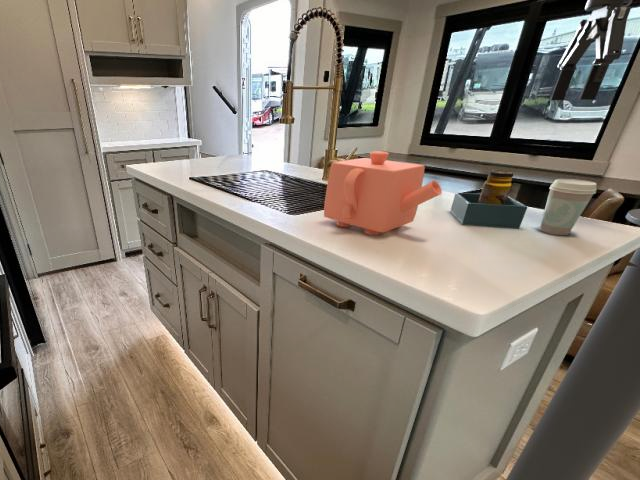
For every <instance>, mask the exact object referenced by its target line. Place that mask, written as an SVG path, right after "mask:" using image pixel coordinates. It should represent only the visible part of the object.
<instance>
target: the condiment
mask: <svg viewBox="0 0 640 480" xmlns="http://www.w3.org/2000/svg"><path fill="white" fill-rule="evenodd" d="M513 177H514V172H513V171H508V170H497V169H496V170H495V169H494V170H491V171H489V172H488V176H487V178H486V179H487V180H485V181H484V183H483V185H482V189H481V192H480V194H481V195H480V198H479V201H478V203H480V204H497V205H505V202H506V199H507V196H509V193H510V190H511V188H512V180H513Z"/></svg>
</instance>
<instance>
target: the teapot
mask: <svg viewBox="0 0 640 480" xmlns="http://www.w3.org/2000/svg"><path fill="white" fill-rule="evenodd" d="M389 154H390V153H389V152H387V151H379V150H377V151H370V152H369V157H361V158H360V157H359V158H353V159H346V160H345V159H344V160H340V161H333V162H332V163H331V164H330V168H329V174H328V179H327V184H326V185H327V186H326V190H325V198H324V206H323V217H324V218H327V219H329V220H334V221H337V223H336V224H335V225H336V226H338V227H343V228H344V227H345V228H348V227H350V226H354V227H359V228H363V229H364V234H367V235H368V236H369V235H370V236H377V235H380V233H385V232H389V231H391V230H395V229H397V228H399V227H403V226H405V225H408V224H410V223H413V222H414V220H415V217H416V214H417V211H418V208H419V207H418V206H420V205H421V204H423V203H426V202H427V201H429V200H432V199H434V198H436V197H438V196H440V195H441V194H442V187H441V185H440V184H439V183H438V182H437V181H436V180H432V181H430V182H428V183H427V184H425V185H423V181H424V176H425V169H426V166H425V164H420V163H419V164H418V163H414V162H413V163H411V162H404V161H395V160H388V159H387V158H388V157H389Z"/></svg>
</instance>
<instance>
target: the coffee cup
mask: <svg viewBox="0 0 640 480" xmlns="http://www.w3.org/2000/svg"><path fill="white" fill-rule="evenodd" d="M548 189H549V192H548V195H547V198H546V199H547V200H546V202H545V203H546V204H545V208H544V211H543V214H542V218H541V222H540V225H539V231H540V232H542V233H545V234H550V235H555V236H568V235H569V234H570V233H571V231H572V230H573V228H574V226H575V225H576V223H577V221H578V220H579V218H580V217H581V215H582V213H583V212H584V211H585V209H586V207H587V206H588V204H589V202H590V201H591V199H592V197H593V196H594V195H595V194H597V183H596V182H594V181H589V180H583V179H582V180H581V179H574V178H557V179H555V180H554V181H553V183H551V184H550V187H549V188H548Z"/></svg>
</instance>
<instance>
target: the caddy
mask: <svg viewBox="0 0 640 480" xmlns="http://www.w3.org/2000/svg"><path fill="white" fill-rule="evenodd" d="M480 195H481V193H472V192H455V193H454V197H453V200H452V204H451V207H450V211H449V212H450V214H452V216H454V218H455V219H456V220H457V221H458V222H459V223H460V224H461V225H462V226H476V227H490V228H504V229H519V230H520V228H521V225H522V223H523V220H524V217H525V214H526V212H527V210H528V205H525V204H524V203H522V202H520V201H518V200H517V199H516V198H513V197H512V196H510V195H508V196H507V199H506V202H505V205H497V204H480V203H478V201H479V198H480Z"/></svg>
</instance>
